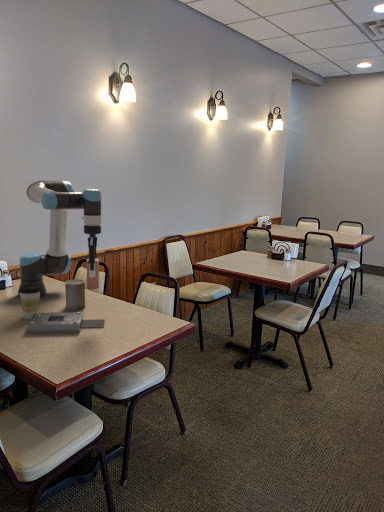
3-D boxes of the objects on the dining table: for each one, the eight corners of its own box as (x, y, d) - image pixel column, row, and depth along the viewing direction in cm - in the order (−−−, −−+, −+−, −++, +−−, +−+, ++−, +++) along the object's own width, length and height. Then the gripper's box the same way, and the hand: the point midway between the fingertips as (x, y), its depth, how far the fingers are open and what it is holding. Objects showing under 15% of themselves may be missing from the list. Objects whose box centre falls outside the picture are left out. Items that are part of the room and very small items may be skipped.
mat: (83, 320, 195) (83, 319, 195) (104, 320, 196) (104, 319, 196) (80, 328, 185) (80, 327, 185) (103, 327, 187) (103, 327, 187)
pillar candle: (84, 303, 219) (83, 276, 216) (85, 309, 210) (85, 281, 207) (65, 304, 216) (64, 277, 213) (66, 310, 207) (65, 282, 204)
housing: (34, 321, 191) (34, 311, 190) (83, 320, 195) (83, 311, 194) (27, 333, 177) (26, 323, 176) (79, 332, 180) (79, 322, 179)
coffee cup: (34, 321, 191) (33, 290, 188) (15, 319, 193) (14, 288, 190) (45, 314, 200) (44, 285, 197) (27, 312, 202) (26, 283, 199)
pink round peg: (87, 286, 189) (87, 258, 187) (99, 286, 190) (99, 258, 188) (86, 289, 184) (86, 261, 181) (98, 289, 185) (98, 261, 182)
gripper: (85, 221, 190) (86, 270, 194) (81, 227, 172) (82, 280, 176) (102, 222, 191) (102, 270, 195) (99, 227, 173) (100, 280, 178)
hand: (92, 275), depth 186 cm, fingers closed on pink round peg, 5 cm apart
